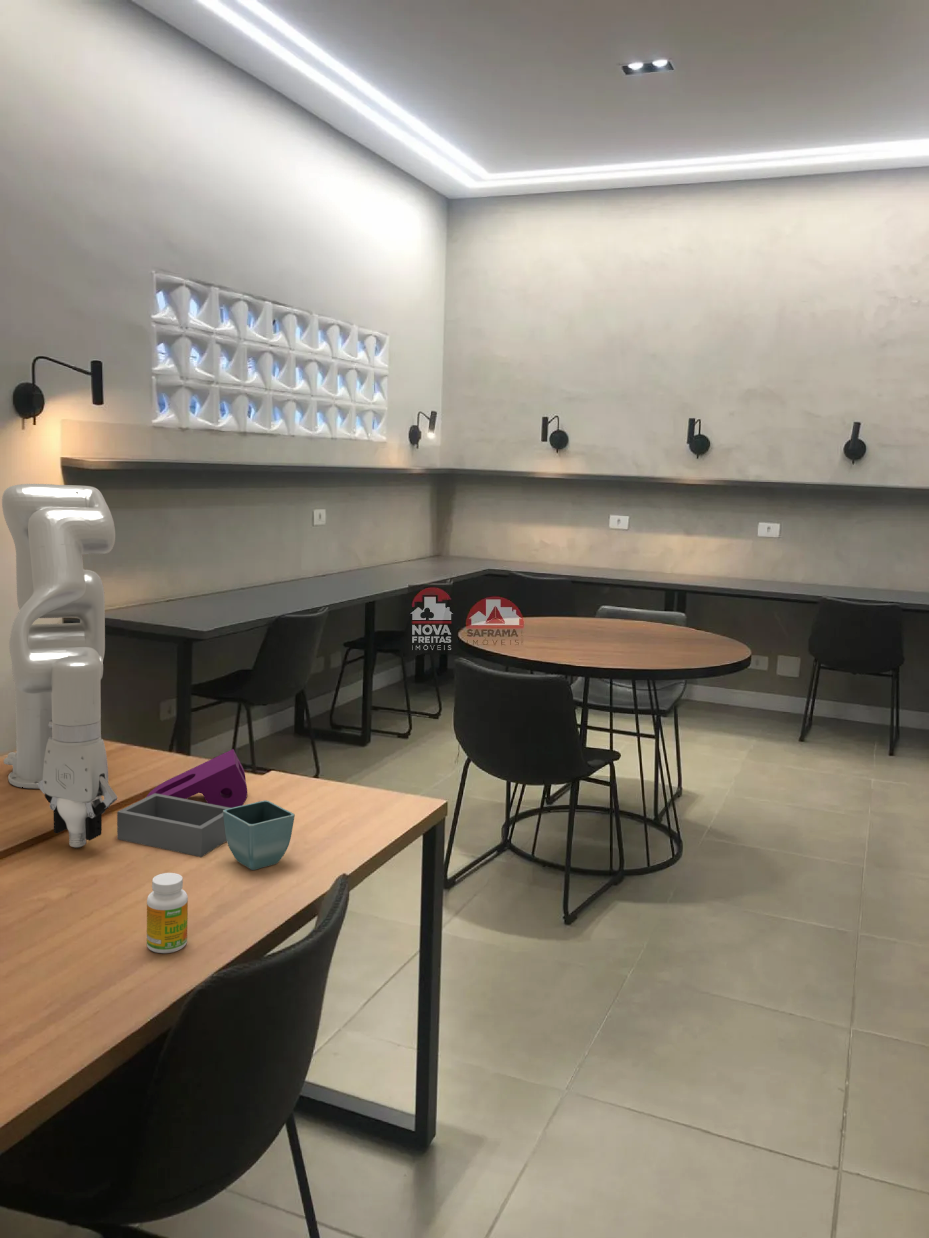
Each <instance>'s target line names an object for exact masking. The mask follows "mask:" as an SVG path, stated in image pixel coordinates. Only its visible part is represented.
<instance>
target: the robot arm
mask: <svg viewBox="0 0 929 1238" xmlns="http://www.w3.org/2000/svg"><path fill="white" fill-rule="evenodd" d="M1 497H2V498H1V508H2V514H3V517H4V521H5V523H6V526H7V528H8V531H9V532H10V535H11V537H12V540H13V543H14V548H15V567H16V568H15V569H16V571H15V573H16V577H15V579H16V600H17V608H18V610H19V611H18V613H16V616H15V618H14V620H13V622H12V626H11V630H10V634H9V635H10V636H9V640H8V641H9V643H8V645H9V646H8V647H9V648H8V649H9V654H10V655H9V657H10V661H11V672H12V678H13V682H14V693H15V694H14V697H15V699H14V700H15V701H14V702H15V703H14V704H15V731H16V733H15V734H16V735H15V736H16V737H15V738H16V739H15V740H16V741H15V742H16V743H15V744H16V746H15V747H16V752H13V751H11V752H9V753H8V754H7V757H5V758H4V759H3V764H5V765H7V766H12V771H11V772H10V773H9V774H8V783H9V784H10V785H12V786H14V787H17V788H22V787H23V788H24V789H39V790H40V791H41V792H42V793H43V794H44V797H45V799H46V801H47V802H48V804H49V809H50V810H51V811H52V812H53V813H52V815H53V816H52V817H53V833H55V834H60V833H62V832H63V831H66V830H68V829H67V826H66V822H65V821H64V820H63V818H62V817H61V816H60V814H59V813H58V810H57V799H58V798H62V799H68V800H71V801H75V802H80V803H85V806H86V809H87V812H88V815H89V817H86V819H85V835H86V841H92V840H93V839H95V838H98V837H99V836H101V835H102V829H103V827H102V823H103V821H102V820H103V819H102V818H103V817H102V816H103V814H104V813H105V812H106V811H107V810H108V809H109V808H110V806H112V804H114V803H115V802H116V801H117V800H118V795H117V794H116V793H115V791H114V790H113V789H112V787H111V786H110V784H109V768H108V758H107V757H108V756H107V751H106V745H105V742H104V739H103V738H102V734H101V733H102V732H101V731H102V725H101V724H102V723H101V722H102V721H101V719H102V718H101V717H102V715H101V714H102V713H101V712H102V709H101V707H102V706H101V703H102V699H101V692H102V691H101V686H102V685H101V680H102V679H103V675H104V664H103V662H104V658H105V653H106V652H105V651H106V638H105V637H106V627H105V626H106V623H105V620H106V616H105V615H106V612H105V611H106V610H105V609H106V608H105V607H106V604H105V603H106V601H105V588H104V584H103V581H102V578H101V576H100V575H99V574H98V573H97V572H96V571H93V570H90V569H85V568H84V562H83V561H84V560H83V555H104V554H109V553H110V552H111V551H112V550H113V548H114V546H115V543H116V528H115V522H114V518H113V516H112V512H111V510H110V508H109V506H108V504H107V502H106V500H105V497H104V496H103V494H102V492H101V491H100V490H99V489H98V488H96V487H95V486H90V485H78V484H77V485H72V484H69V485H68V484H52V483H51V484H50V483H46V484H45V483H22V484H14V485H12V486H11V485H10V486H9V487H7V488H6V489H5V490H4V491H3V494H2V496H1ZM63 618H67V619H68V618H77V619H79V622H73V623H71V622H70V623H67V622H66V623H39V624H38V623H37V624H35V623H34V622H36V621H37V620H39V619H63ZM33 623H34V624H33ZM93 801H95V803H96V807H95V808H94V805H93Z"/></svg>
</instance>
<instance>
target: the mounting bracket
mask: <svg viewBox="0 0 929 1238" xmlns="http://www.w3.org/2000/svg"><path fill="white" fill-rule="evenodd" d="M154 793H156V794H162V795H167V796H172V797H177V798H182V799H189V798H191V797H193V796H195V795H197V794H198V795H199V794H201V795H202V796H203V798H204V800H205V803H208V804H214V805H219V806H224V807H229V808H234V807H238V806H242V805H245V803H246V802H247V801H246V800H247V797H248V786H247V781H246V772H245V769H244V767H243V765H242V763H241V761H240V760H239V757H238V756H237V753H236V752H235V749H234V748H232V749H230V750H228V751H226V752H224V753H221V754H220V755H219V754H218V755H217V756H216V757H213V758H212V759H211V758H210V759H209V760H207V761H205V762H203V763H201V764H198V765H197V766H195V767H192V768H190V769H188V770H186V771H183V772H182V773H179V774H178V775H175V776H173V777H171V778H169V779H168V780H167V779H166V780H165V781H163V782H161V783H160V784H159V785H157V786H155V787H154V788H152V789H151V790H150V792H149V793H148V794H147V795H146V797H148V796H150V795H152V794H154Z"/></svg>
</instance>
